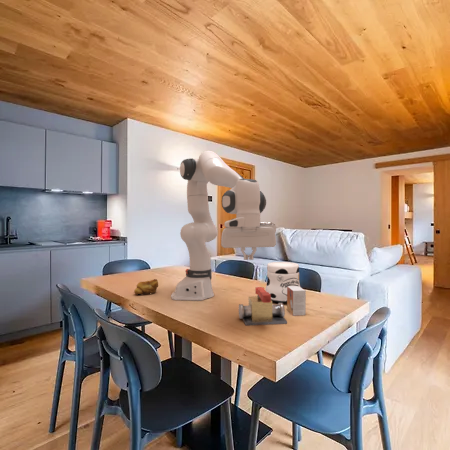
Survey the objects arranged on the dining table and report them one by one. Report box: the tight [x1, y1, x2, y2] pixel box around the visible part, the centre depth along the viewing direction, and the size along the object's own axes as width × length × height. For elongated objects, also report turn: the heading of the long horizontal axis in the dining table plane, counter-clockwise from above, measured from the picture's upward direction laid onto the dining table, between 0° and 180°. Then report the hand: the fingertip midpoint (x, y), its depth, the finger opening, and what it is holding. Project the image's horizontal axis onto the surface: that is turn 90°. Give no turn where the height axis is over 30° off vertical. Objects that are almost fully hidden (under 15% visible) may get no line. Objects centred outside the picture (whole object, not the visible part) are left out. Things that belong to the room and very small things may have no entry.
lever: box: [254, 286, 272, 303], centre depth 107 cm, size 14×4×3 cm, turn 5°
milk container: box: [264, 261, 301, 304], centre depth 138 cm, size 17×17×18 cm
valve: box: [238, 294, 288, 326], centre depth 112 cm, size 18×12×10 cm
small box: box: [286, 286, 307, 316], centre depth 120 cm, size 8×6×10 cm
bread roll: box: [133, 278, 159, 296], centre depth 154 cm, size 13×10×8 cm
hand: (248, 259), depth 103 cm, fingers closed
